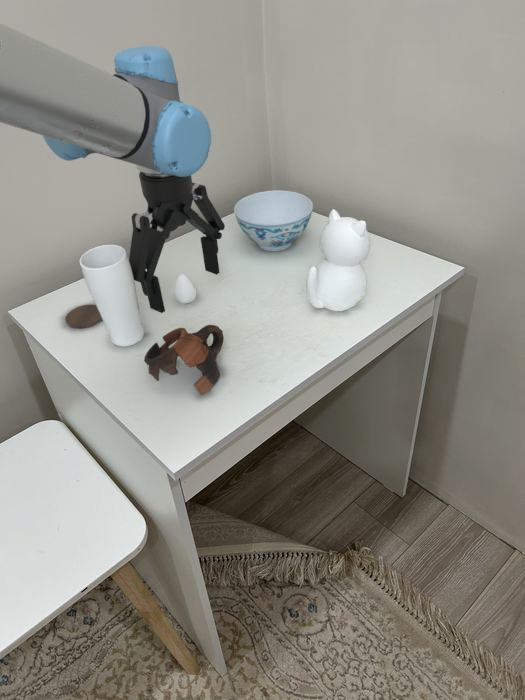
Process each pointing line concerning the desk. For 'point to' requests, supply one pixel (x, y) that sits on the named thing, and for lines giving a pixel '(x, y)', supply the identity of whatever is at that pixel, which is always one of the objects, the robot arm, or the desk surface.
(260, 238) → the chinaware
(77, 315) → the coaster
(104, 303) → the drinking glass
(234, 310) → the desk surface
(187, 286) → the egg
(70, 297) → the desk surface
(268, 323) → the desk surface
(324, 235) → the cat figurine
